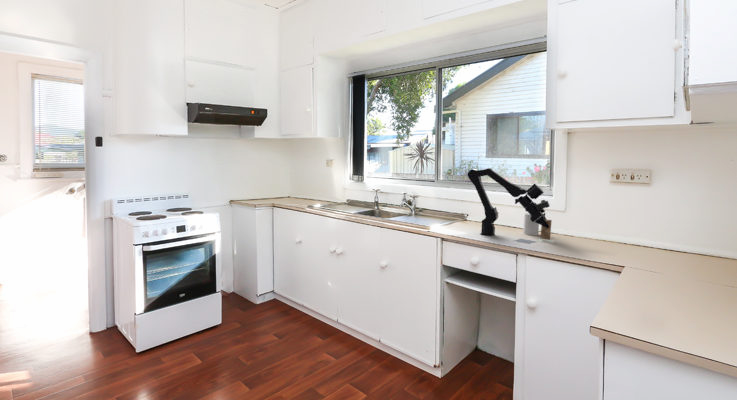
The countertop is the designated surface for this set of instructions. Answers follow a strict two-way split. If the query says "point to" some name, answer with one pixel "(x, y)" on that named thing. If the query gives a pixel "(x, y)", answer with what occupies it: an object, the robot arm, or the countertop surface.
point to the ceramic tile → (545, 240)
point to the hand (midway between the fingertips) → (549, 226)
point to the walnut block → (546, 231)
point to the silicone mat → (525, 241)
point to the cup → (530, 225)
